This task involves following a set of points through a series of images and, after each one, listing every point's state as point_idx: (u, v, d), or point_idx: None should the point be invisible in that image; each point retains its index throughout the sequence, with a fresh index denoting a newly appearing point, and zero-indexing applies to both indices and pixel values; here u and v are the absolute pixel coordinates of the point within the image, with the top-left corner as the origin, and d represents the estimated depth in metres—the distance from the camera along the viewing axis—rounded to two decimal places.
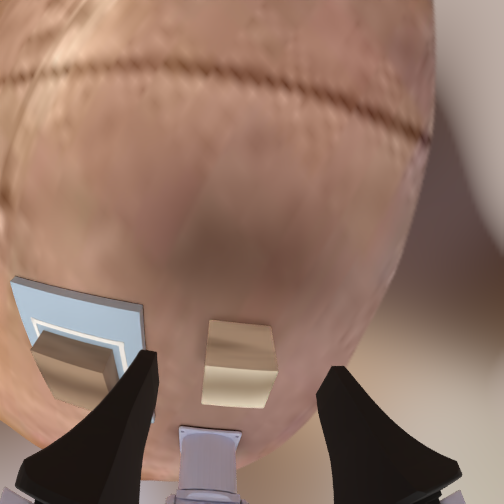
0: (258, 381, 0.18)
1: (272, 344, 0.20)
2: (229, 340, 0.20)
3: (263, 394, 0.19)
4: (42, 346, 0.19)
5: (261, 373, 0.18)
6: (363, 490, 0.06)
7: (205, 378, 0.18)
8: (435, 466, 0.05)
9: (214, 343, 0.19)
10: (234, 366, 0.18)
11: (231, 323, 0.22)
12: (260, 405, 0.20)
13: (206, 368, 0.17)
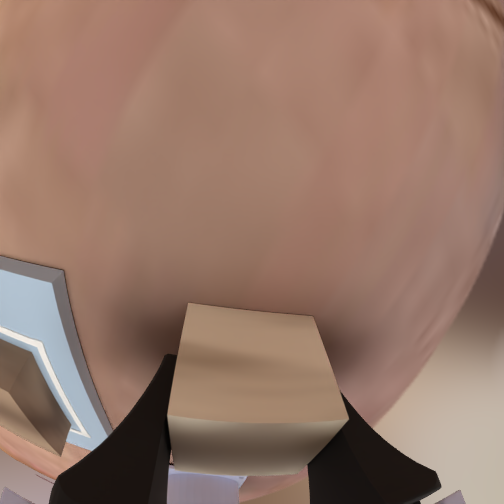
0: (297, 441, 0.07)
1: (324, 355, 0.09)
2: (229, 349, 0.09)
3: (303, 458, 0.08)
4: None
5: (308, 428, 0.07)
6: (336, 496, 0.06)
7: (173, 437, 0.07)
8: (411, 476, 0.05)
9: (194, 356, 0.08)
10: (243, 416, 0.06)
11: (234, 312, 0.10)
12: (292, 471, 0.08)
13: (171, 420, 0.06)
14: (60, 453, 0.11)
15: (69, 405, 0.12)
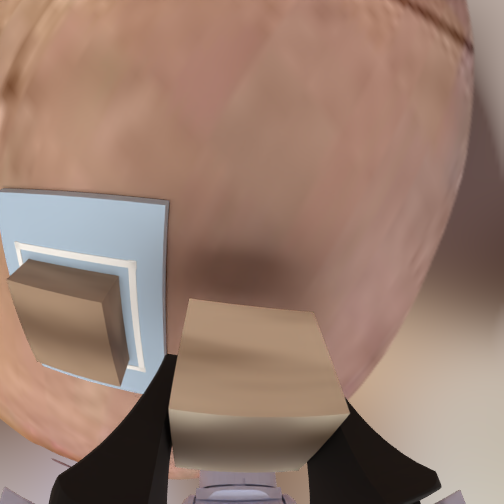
0: (298, 436, 0.07)
1: (325, 350, 0.09)
2: (230, 344, 0.09)
3: (304, 453, 0.08)
4: (23, 275, 0.14)
5: (309, 423, 0.07)
6: (336, 496, 0.06)
7: (174, 432, 0.07)
8: (411, 476, 0.05)
9: (195, 351, 0.08)
10: (244, 410, 0.06)
11: (234, 308, 0.10)
12: (292, 468, 0.08)
13: (173, 414, 0.06)
14: (120, 383, 0.17)
15: (138, 330, 0.18)
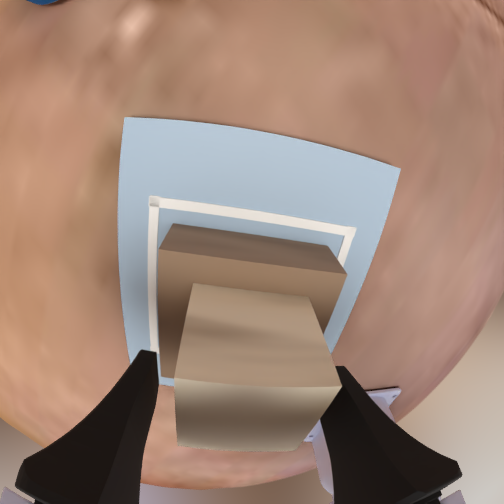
0: (294, 409, 0.08)
1: (318, 330, 0.10)
2: (231, 322, 0.10)
3: (300, 430, 0.09)
4: (187, 243, 0.12)
5: (304, 394, 0.08)
6: (363, 490, 0.06)
7: (178, 404, 0.07)
8: (435, 466, 0.05)
9: (199, 328, 0.09)
10: (243, 380, 0.07)
11: (235, 291, 0.11)
12: (290, 447, 0.09)
13: (178, 384, 0.07)
14: None
15: None
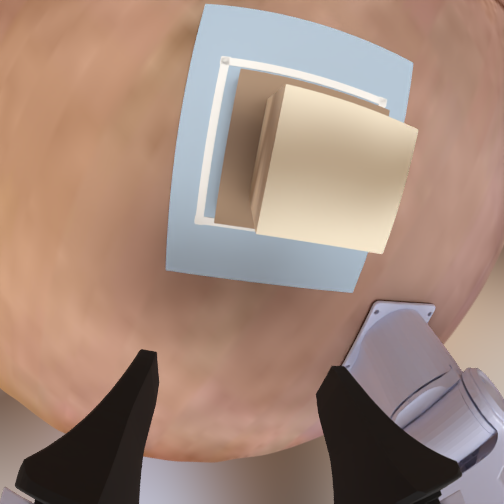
0: (385, 151, 0.08)
1: None
2: None
3: (390, 201, 0.09)
4: None
5: (391, 128, 0.08)
6: (363, 490, 0.06)
7: (281, 127, 0.08)
8: (435, 466, 0.05)
9: None
10: (342, 100, 0.08)
11: None
12: (378, 243, 0.10)
13: (287, 94, 0.07)
14: None
15: None
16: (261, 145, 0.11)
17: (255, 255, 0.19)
